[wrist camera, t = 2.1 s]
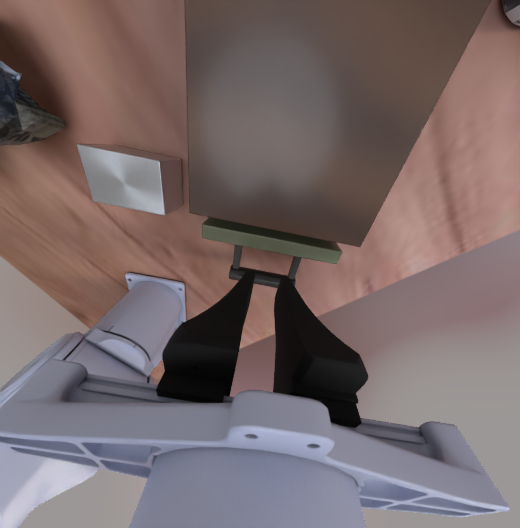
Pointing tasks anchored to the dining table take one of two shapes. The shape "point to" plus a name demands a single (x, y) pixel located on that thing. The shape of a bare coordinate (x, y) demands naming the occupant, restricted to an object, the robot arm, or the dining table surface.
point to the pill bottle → (512, 10)
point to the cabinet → (312, 105)
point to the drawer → (268, 247)
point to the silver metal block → (132, 178)
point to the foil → (22, 113)
